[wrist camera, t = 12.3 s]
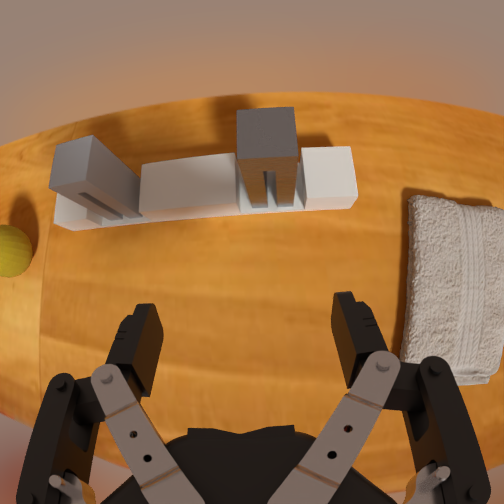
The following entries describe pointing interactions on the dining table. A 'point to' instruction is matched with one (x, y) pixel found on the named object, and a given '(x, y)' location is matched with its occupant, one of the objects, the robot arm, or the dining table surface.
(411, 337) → the washcloth
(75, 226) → the rail
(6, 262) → the lemon
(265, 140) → the grey slotted block
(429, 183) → the dining table surface
